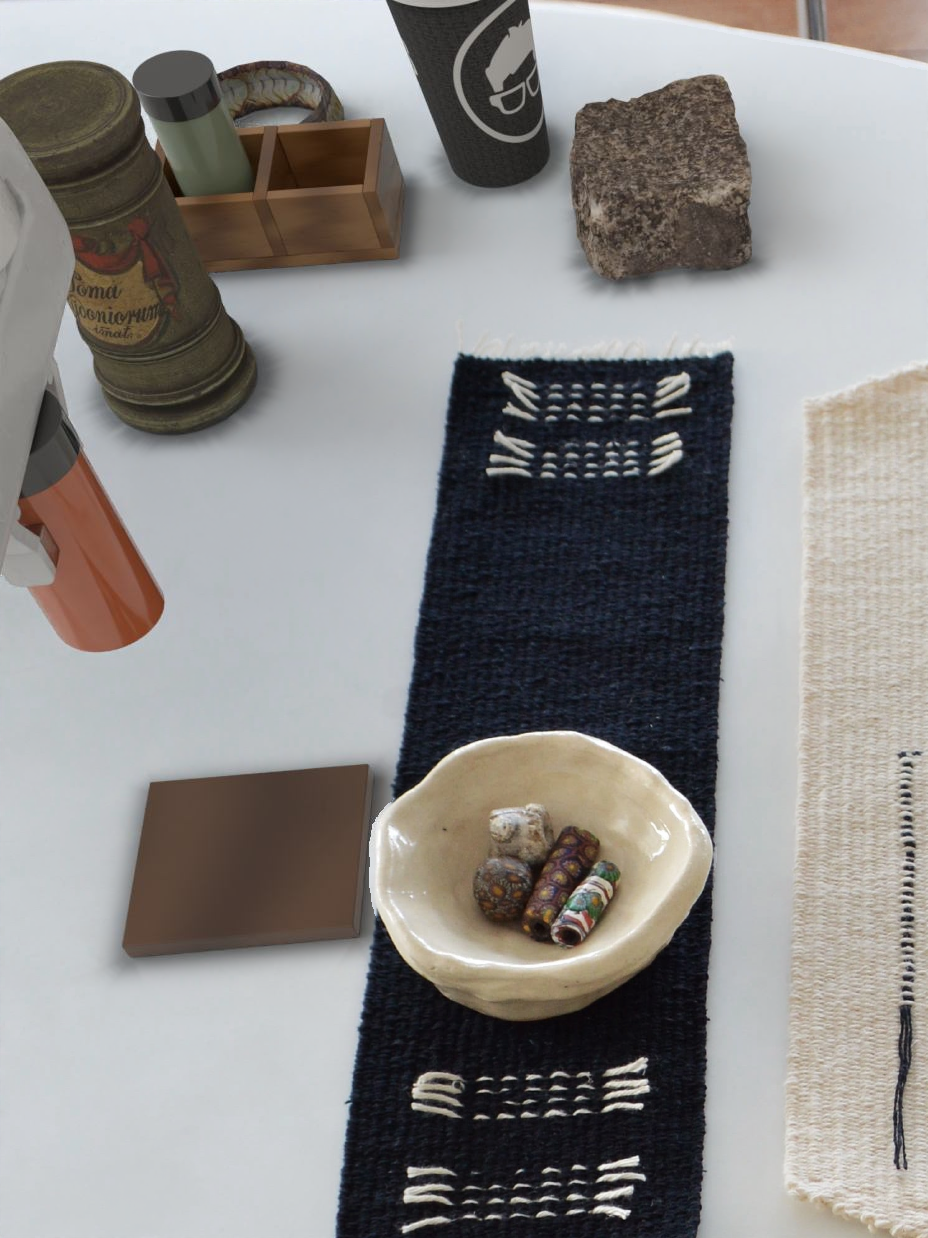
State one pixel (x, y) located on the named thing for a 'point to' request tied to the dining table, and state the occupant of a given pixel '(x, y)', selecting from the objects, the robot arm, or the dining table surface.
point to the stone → (662, 181)
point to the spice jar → (84, 544)
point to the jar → (194, 123)
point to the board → (250, 860)
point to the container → (129, 252)
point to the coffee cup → (479, 84)
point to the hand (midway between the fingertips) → (50, 519)
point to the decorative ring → (279, 90)
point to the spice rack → (303, 199)
